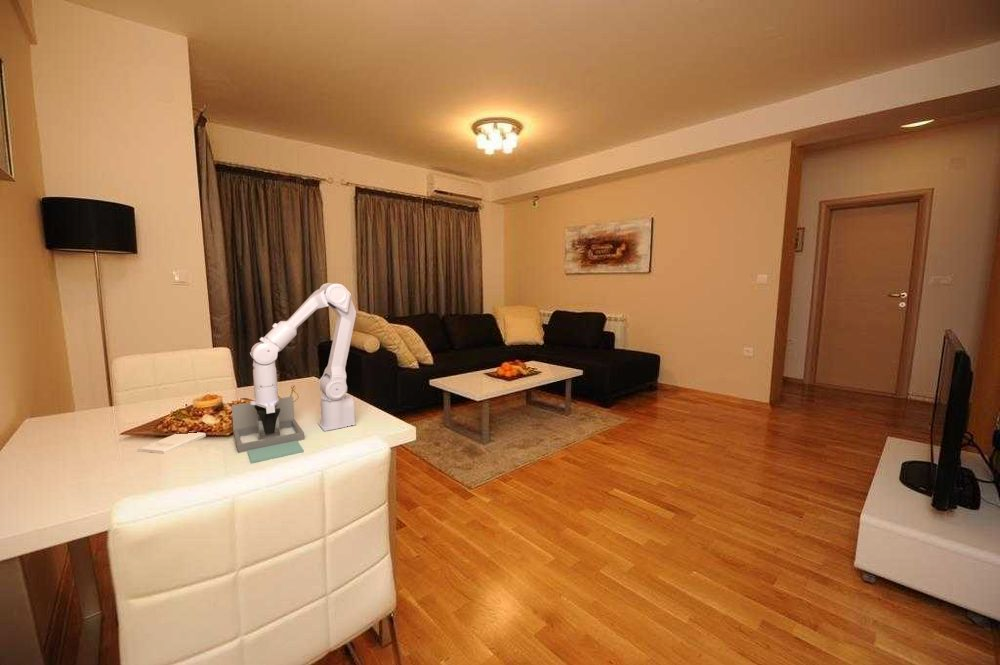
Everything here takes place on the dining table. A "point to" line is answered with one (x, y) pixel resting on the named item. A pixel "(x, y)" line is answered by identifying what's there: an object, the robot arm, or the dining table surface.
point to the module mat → (274, 451)
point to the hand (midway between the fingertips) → (268, 430)
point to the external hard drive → (171, 443)
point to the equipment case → (247, 425)
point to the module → (262, 433)
